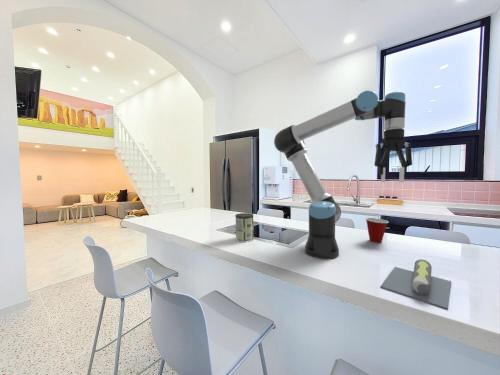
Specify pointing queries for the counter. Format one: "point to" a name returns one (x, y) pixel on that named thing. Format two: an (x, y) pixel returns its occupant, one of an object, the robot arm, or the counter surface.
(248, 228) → the coffee can
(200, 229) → the counter surface
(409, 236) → the counter surface
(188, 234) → the counter surface
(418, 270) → the patterned grey cylinder
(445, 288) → the slate mat
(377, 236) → the plastic cup
